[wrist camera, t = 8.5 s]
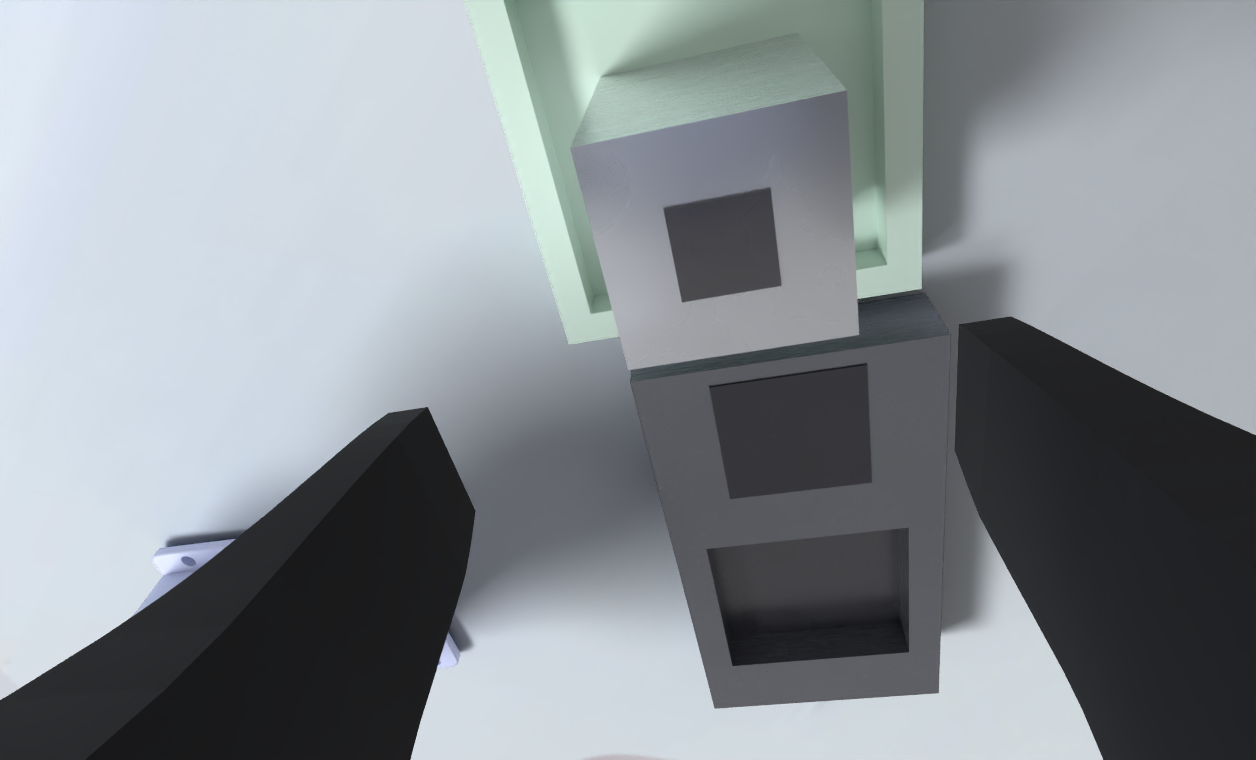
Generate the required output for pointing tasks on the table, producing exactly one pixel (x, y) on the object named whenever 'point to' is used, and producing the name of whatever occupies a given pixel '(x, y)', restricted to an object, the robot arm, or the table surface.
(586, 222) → the tray
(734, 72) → the cube with square inset
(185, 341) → the table surface
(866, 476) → the plate with square cutouts
